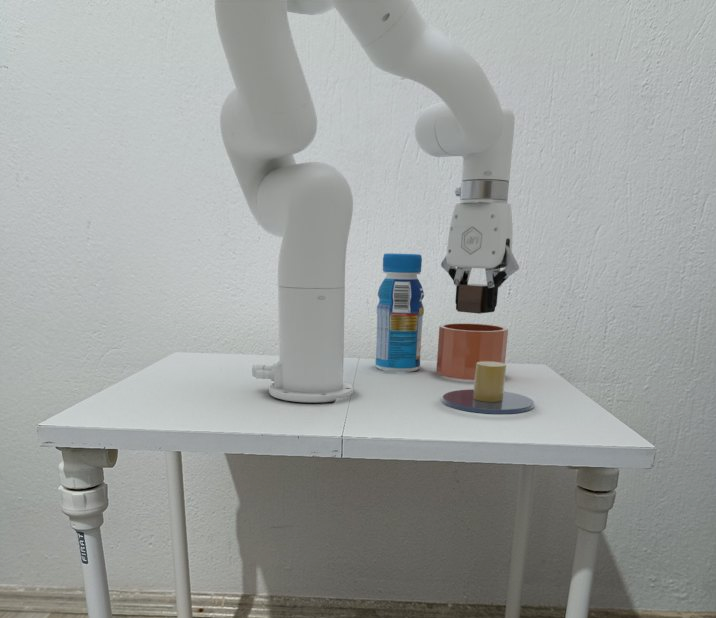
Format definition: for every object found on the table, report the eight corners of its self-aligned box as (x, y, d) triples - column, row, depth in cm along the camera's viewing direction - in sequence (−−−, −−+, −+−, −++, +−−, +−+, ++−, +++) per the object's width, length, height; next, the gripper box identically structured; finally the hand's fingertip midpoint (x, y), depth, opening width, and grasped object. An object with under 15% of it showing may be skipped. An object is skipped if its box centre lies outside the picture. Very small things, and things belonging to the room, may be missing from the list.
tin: (435, 381, 112) (438, 329, 109) (437, 368, 123) (440, 322, 120) (505, 384, 110) (510, 332, 107) (500, 372, 121) (505, 324, 118)
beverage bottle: (365, 368, 121) (368, 253, 115) (393, 363, 127) (398, 253, 121) (402, 374, 116) (407, 254, 109) (429, 369, 122) (436, 254, 115)
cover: (441, 415, 90) (444, 369, 87) (442, 395, 101) (445, 354, 99) (538, 420, 88) (543, 374, 86) (528, 399, 100) (532, 358, 98)
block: (479, 313, 110) (481, 286, 108) (457, 311, 113) (459, 284, 111) (493, 312, 113) (495, 285, 112) (470, 309, 116) (472, 283, 114)
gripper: (427, 194, 109) (421, 308, 115) (520, 191, 99) (508, 316, 105) (452, 197, 114) (445, 305, 121) (543, 194, 104) (530, 313, 110)
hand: (475, 309), depth 113 cm, fingers closed on block, 4 cm apart
